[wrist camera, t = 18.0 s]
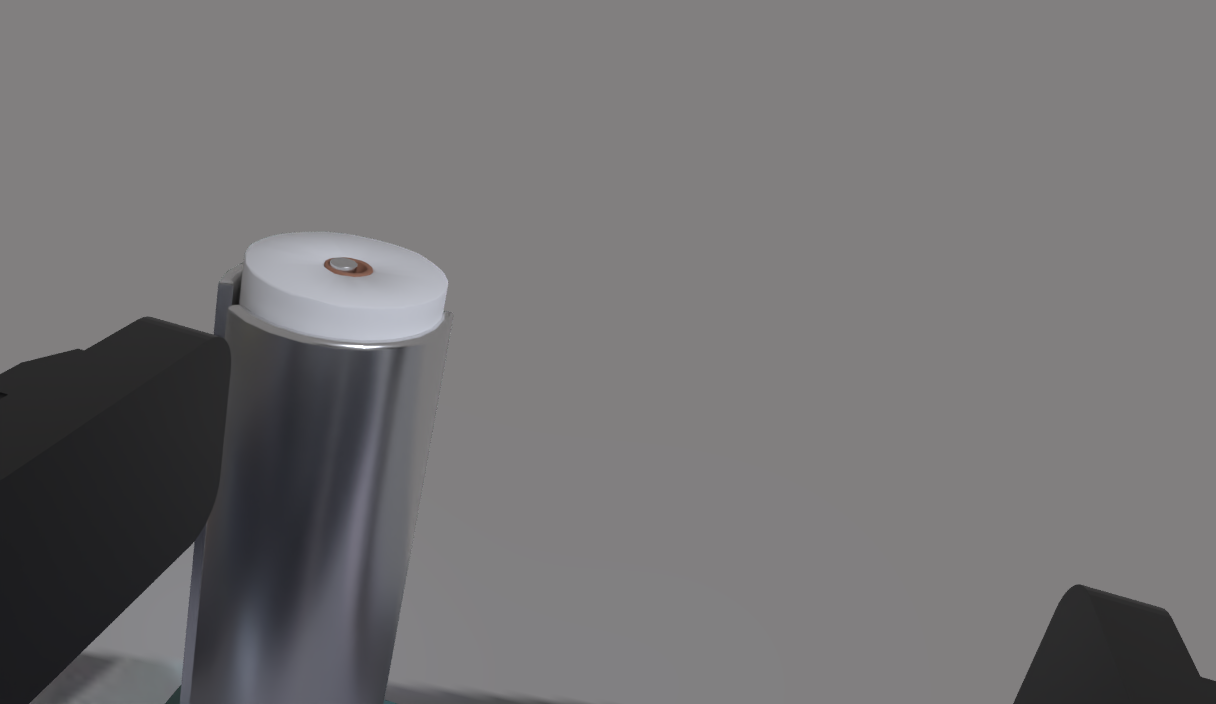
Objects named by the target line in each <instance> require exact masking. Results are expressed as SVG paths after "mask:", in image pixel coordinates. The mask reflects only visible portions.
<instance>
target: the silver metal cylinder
mask: <svg viewBox="0 0 1216 704" xmlns="http://www.w3.org/2000/svg"><path fill="white" fill-rule="evenodd" d="M447 287H448V280H447V278H446V276H445V274H444V272H443V271H442V270H441V269H439V268H438V267H437V266H436V265H434V264H433V263H432V262H431V261H429V260H428V259H426V258H425V257H423V256H421V255H420V254H418V253H416V252H414V251H411V250H408V249H406V248H403V247H400V246H398V245H394V244H390V243H386V242H383V241H379V240H375V239H371V238H366V237H361V236H357V235H352V234H344V233H334V232H297V233H283V234H278V235H274V236H270V237H266V238H263V239H261V240H259V241H257V242H255V243H253V244H251V245H250V246H249V248H248V249H247V251H246V252H245V254H244V262H243V263H241V264H239V265H237V266H236V267H234V268H232V269H230V270H228V271H227V272H226V274H225V275H224V276H223V277H222V279H221V280H220V281H219V284H218V292H217V303H216V314H215V325H214V335H216V336H219V337H222V338H224V339H225V340H226V341H227V343H228V345H229V348H230V352H231V374H230V384H229V394H228V404H227V414H226V424H225V434H224V444H223V454H222V464H221V474H220V483H219V488H218V493H217V497H216V500H215V503H214V506H213V509H212V511H211V514H210V516H209V518H208V520H207V522H206V524H205V526H204V528H203V530H202V531H201V533H200V534H199V536H198V537H197V539H196V540H195V542H194V553H193V565H192V575H191V586H190V597H189V607H188V618H187V629H186V641H185V652H184V662H183V673H182V684H181V694H180V704H384V698H385V693H386V687H387V682H388V676H389V670H390V665H391V659H392V654H393V648H394V643H395V637H396V632H397V626H398V621H399V615H400V609H401V604H402V598H403V593H404V587H405V582H406V576H407V571H408V565H409V559H410V554H411V549H412V543H413V538H414V532H415V526H416V521H417V515H418V510H419V504H420V498H421V493H422V487H423V482H424V476H425V471H426V465H427V460H428V454H429V448H430V443H431V438H432V432H433V427H434V421H435V415H436V410H437V404H438V399H439V393H440V388H441V382H442V376H443V371H444V365H445V360H446V354H447V349H448V343H449V337H450V332H451V326H452V321H453V313H452V312H449V311H443V309H444V304H445V299H446V293H447Z"/></svg>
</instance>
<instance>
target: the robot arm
mask: <svg viewBox="0 0 1216 704" xmlns="http://www.w3.org/2000/svg"><path fill="white" fill-rule="evenodd" d="M230 374H231V352H230V348H229V345H228V343H227V341H226V340H225V339H224V338H222V337H219V336H216V335H212V334H209V333H205V332H201V331H198V330H195V329H191V328H188V327H184V326H180V325H177V324H174V323H170V322H167V321H163V320H160V319H156V318H153V317H143V318H141V319H138V320H136V321H135V322H133V323H131V324H130V325H128V326H126V327H124V328H123V329H121V330H119V331H118V332H116V333H114V334H112V335H110V336H109V337H107V338H105V339H104V340H102V341H100V342H98V343H97V344H95V345H93V346H92V347H90V348H88V349H86V350H80V349H75V350H71V351H67V352H63V353H59V354H55V355H51V356H47V357H43V358H39V359H35V360H31V361H27V362H22V363H20V364H19V365H16V366H15V367H13V368H11V369H9V370H7V371H6V372H4V373H2V374H0V704H29V703H30V702H31V701H32V700H33V699H34V698H35V697H36V696H37V695H38V694H39V693H40V692H41V691H42V690H43V689H44V688H46V687H47V686H48V685H49V684H50V683H51V682H52V681H53V680H54V679H55V678H56V677H57V676H58V675H59V674H60V673H61V672H62V671H63V670H64V669H65V668H66V667H67V666H68V665H69V664H70V663H71V662H72V661H73V660H74V659H75V658H76V657H77V656H78V655H79V654H80V653H81V652H82V651H83V650H84V649H85V648H86V647H87V646H88V645H89V644H90V643H91V642H92V641H94V640H95V638H97V637H98V636H99V635H100V634H101V633H102V632H103V631H104V630H105V629H106V628H107V627H108V626H109V625H110V624H111V623H112V622H113V621H114V620H115V619H116V618H117V617H118V616H119V615H120V614H121V613H122V612H123V611H124V610H125V609H126V608H127V607H128V606H129V605H130V604H131V603H132V602H133V601H134V600H135V599H136V598H137V597H138V596H139V595H141V594H142V593H143V592H144V591H145V590H146V589H147V588H148V587H149V586H150V585H151V584H152V583H153V582H154V581H155V580H156V579H157V578H158V577H159V576H160V575H161V574H162V573H163V572H164V571H165V570H166V569H167V568H168V567H169V566H170V565H171V564H172V563H173V562H174V561H175V560H176V559H177V558H178V557H179V556H180V555H181V554H182V553H183V552H184V551H185V550H186V549H188V548H189V547H190V546H191V544H192V543H193V542H194V541H195V540H196V539H197V537H198V536H199V534H200V533H201V531H202V530H203V528H204V526H205V524H206V522H207V520H208V518H209V516H210V514H211V511H212V509H213V506H214V503H215V500H216V497H217V493H218V488H219V483H220V474H221V464H222V454H223V444H224V434H225V424H226V414H227V404H228V394H229V384H230ZM1013 704H1216V681H1213V680H1210V679H1206V678H1202V677H1200V675H1199V673H1198V671H1197V669H1196V667H1195V665H1194V663H1193V660H1192V658H1191V656H1190V654H1189V653H1188V650H1187V648H1186V646H1185V644H1184V642H1183V640H1182V638H1181V636H1180V634H1179V632H1178V630H1177V628H1176V626H1175V624H1174V622H1173V620H1172V618H1171V616H1170V615H1169V613H1168V612H1167V611H1166V610H1165V609H1163V608H1160V607H1157V606H1153V605H1150V604H1146V603H1143V602H1139V601H1136V600H1132V599H1129V598H1125V597H1122V596H1118V595H1114V594H1111V593H1108V592H1104V591H1101V590H1097V589H1093V588H1090V587H1087V586H1083V585H1075V586H1073V587H1071V588H1070V589H1069V590H1068V591H1067V592H1066V593H1065V595H1064V596H1063V598H1062V599H1061V601H1060V602H1059V604H1058V606H1057V608H1056V610H1055V613H1054V615H1053V617H1052V619H1051V621H1050V624H1049V626H1048V628H1047V630H1046V633H1045V635H1044V637H1043V639H1042V641H1041V644H1040V646H1039V648H1038V650H1037V652H1036V655H1035V657H1034V659H1033V661H1032V663H1031V666H1030V668H1029V670H1028V672H1027V675H1026V677H1025V679H1024V681H1023V683H1022V686H1021V688H1020V690H1019V692H1018V694H1017V697H1016V699H1015V701H1014V703H1013Z"/></svg>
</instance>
